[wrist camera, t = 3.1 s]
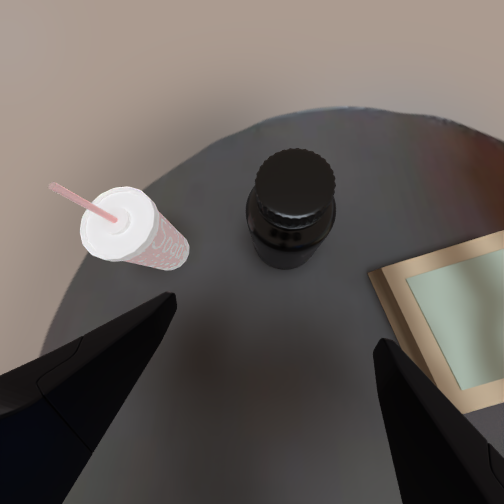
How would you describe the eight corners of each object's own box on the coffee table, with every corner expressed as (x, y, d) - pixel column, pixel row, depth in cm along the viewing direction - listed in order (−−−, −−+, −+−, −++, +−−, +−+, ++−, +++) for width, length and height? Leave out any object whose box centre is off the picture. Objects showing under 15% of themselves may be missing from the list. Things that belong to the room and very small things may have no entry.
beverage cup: (175, 287, 24) (50, 260, 11) (135, 260, 25) (-22, 205, 12) (205, 242, 25) (126, 164, 12) (166, 218, 26) (53, 124, 13)
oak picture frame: (425, 400, 19) (453, 418, 16) (367, 273, 22) (381, 267, 19) (557, 361, 19) (611, 372, 16) (479, 238, 22) (512, 227, 19)
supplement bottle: (241, 242, 25) (213, 185, 13) (282, 202, 25) (289, 113, 14) (287, 284, 23) (300, 259, 11) (328, 239, 24) (380, 173, 12)
